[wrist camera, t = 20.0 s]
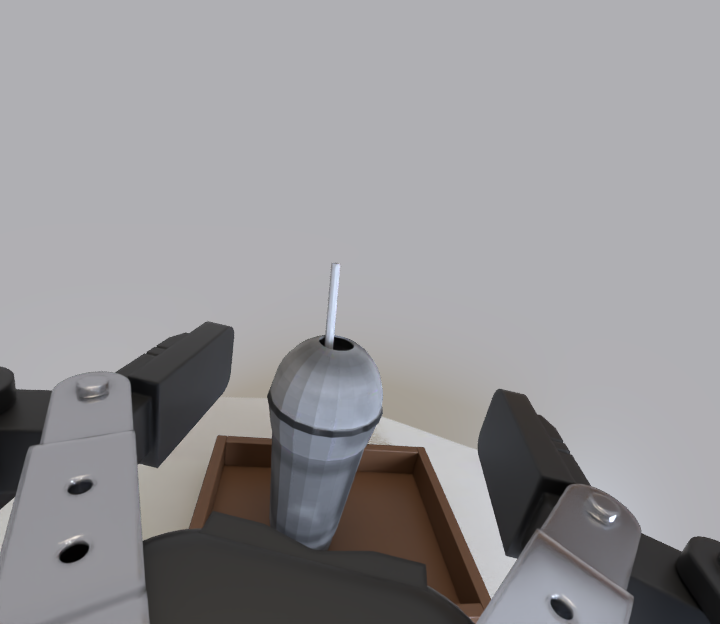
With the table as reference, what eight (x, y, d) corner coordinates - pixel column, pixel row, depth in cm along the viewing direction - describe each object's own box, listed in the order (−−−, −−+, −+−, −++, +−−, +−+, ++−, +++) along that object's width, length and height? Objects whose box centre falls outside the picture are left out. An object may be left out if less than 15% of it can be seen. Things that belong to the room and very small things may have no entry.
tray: (156, 669, 20) (157, 629, 19) (215, 464, 33) (217, 435, 32) (483, 650, 23) (499, 616, 22) (416, 473, 37) (424, 446, 36)
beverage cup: (290, 609, 23) (350, 296, 16) (229, 525, 27) (257, 252, 21) (370, 542, 28) (439, 285, 22) (308, 480, 33) (350, 252, 26)
